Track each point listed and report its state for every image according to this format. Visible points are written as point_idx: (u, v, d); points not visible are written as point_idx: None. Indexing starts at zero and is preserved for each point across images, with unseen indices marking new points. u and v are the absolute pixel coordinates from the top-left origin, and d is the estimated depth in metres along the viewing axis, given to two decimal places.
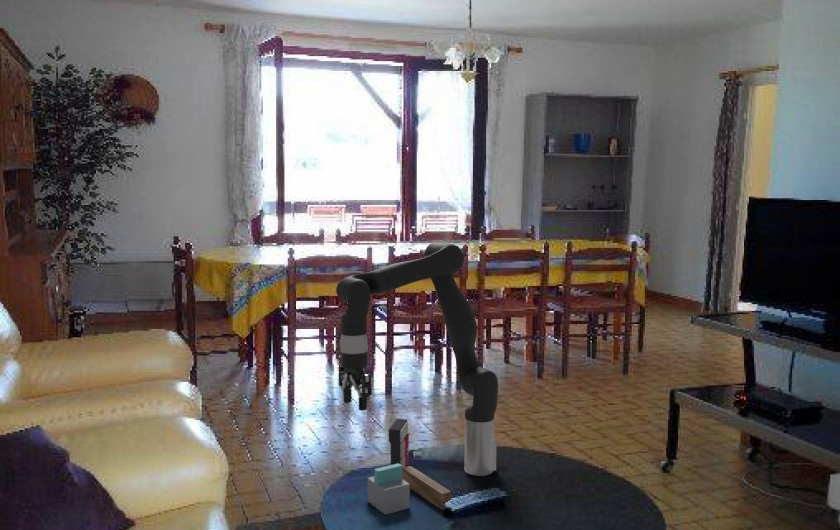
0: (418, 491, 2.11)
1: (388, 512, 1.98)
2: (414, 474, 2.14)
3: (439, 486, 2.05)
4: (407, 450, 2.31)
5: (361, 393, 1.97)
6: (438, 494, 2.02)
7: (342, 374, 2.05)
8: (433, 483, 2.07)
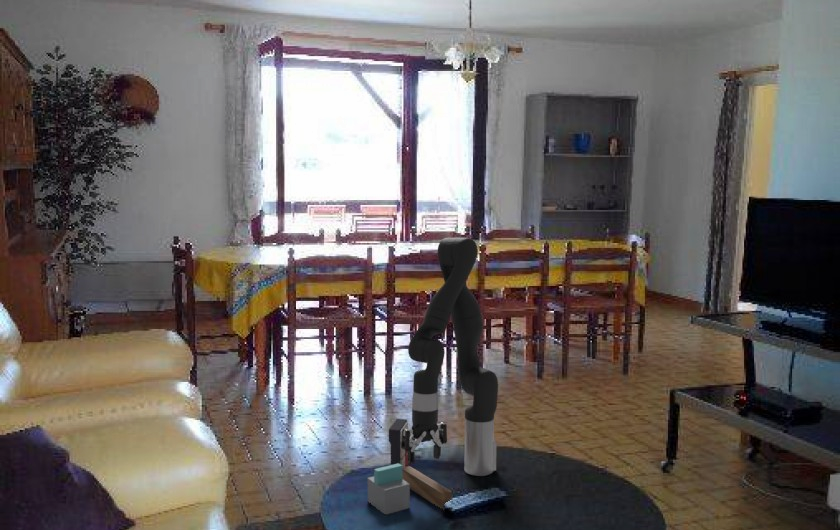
0: (418, 491, 2.11)
1: (388, 512, 1.98)
2: (414, 474, 2.14)
3: (439, 486, 2.05)
4: None
5: (440, 442, 2.11)
6: (438, 494, 2.02)
7: None
8: (433, 483, 2.07)
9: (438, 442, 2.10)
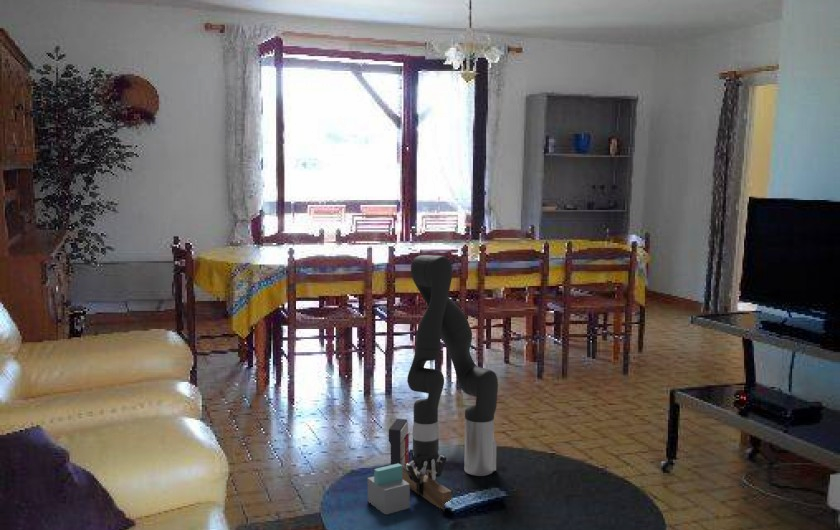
0: None
1: (388, 512, 1.98)
2: None
3: (439, 485, 2.05)
4: (407, 450, 2.31)
5: None
6: (438, 493, 2.02)
7: None
8: (433, 482, 2.07)
9: (432, 476, 2.10)
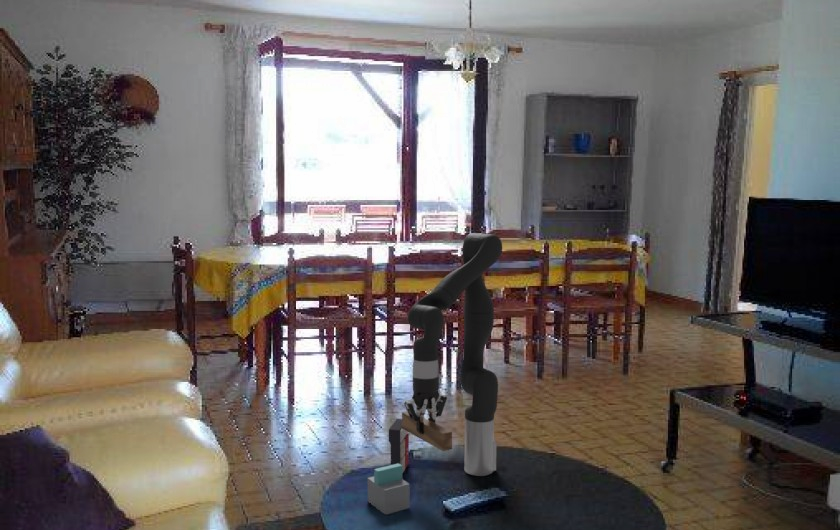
0: (418, 434, 2.09)
1: (388, 512, 1.98)
2: None
3: (440, 427, 2.03)
4: (407, 450, 2.31)
5: (435, 415, 2.09)
6: (438, 434, 2.00)
7: None
8: (433, 425, 2.05)
9: (432, 415, 2.08)
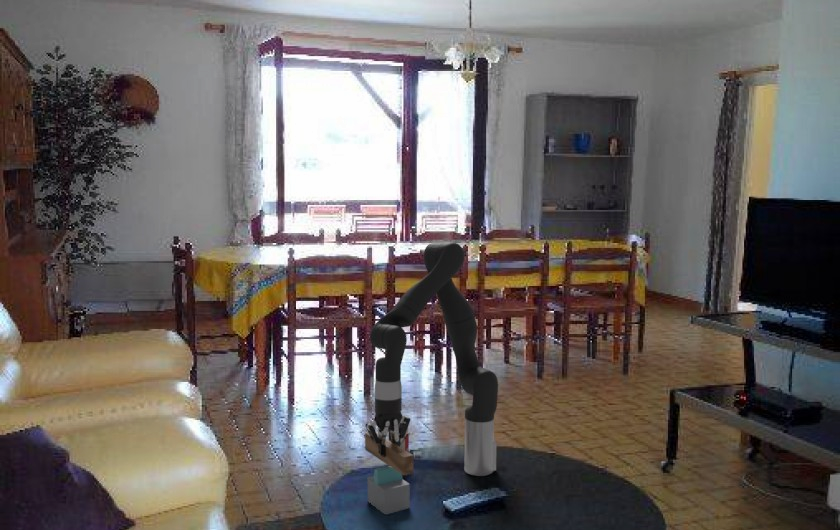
0: (381, 456, 2.03)
1: (388, 512, 1.98)
2: None
3: (401, 450, 1.97)
4: (407, 450, 2.31)
5: None
6: (399, 458, 1.94)
7: None
8: (396, 447, 1.99)
9: (395, 437, 2.02)
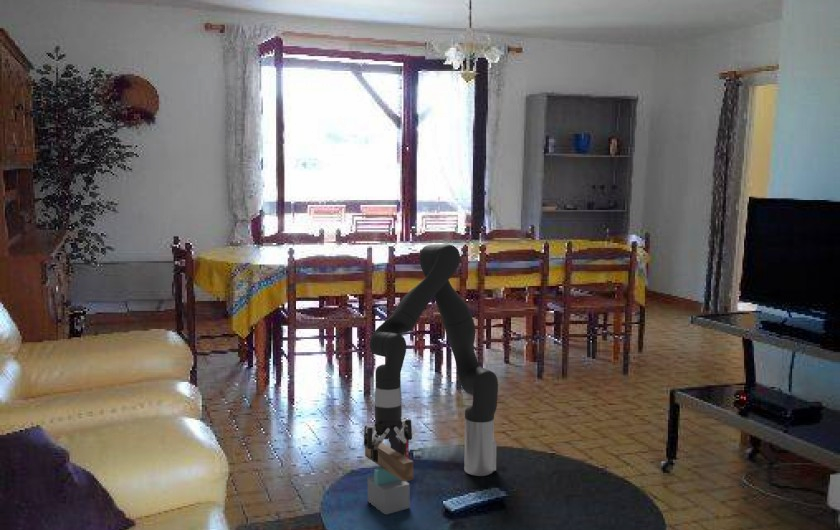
0: (381, 463, 2.03)
1: (388, 512, 1.98)
2: None
3: (401, 456, 1.97)
4: (407, 450, 2.31)
5: (405, 438, 2.04)
6: (399, 464, 1.94)
7: None
8: (395, 454, 1.99)
9: (403, 439, 2.03)
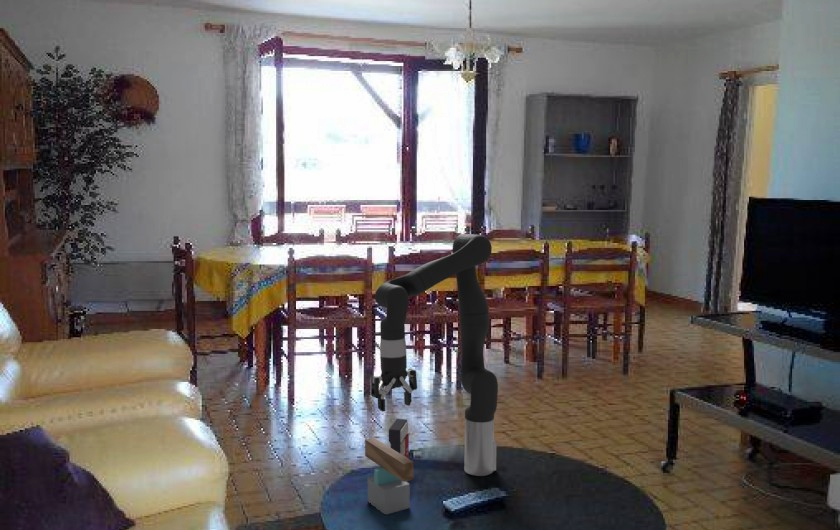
0: (381, 463, 2.03)
1: (388, 512, 1.98)
2: (377, 445, 2.06)
3: (401, 456, 1.97)
4: (407, 450, 2.31)
5: (410, 388, 2.10)
6: (399, 464, 1.94)
7: None
8: (395, 454, 1.99)
9: (408, 388, 2.10)
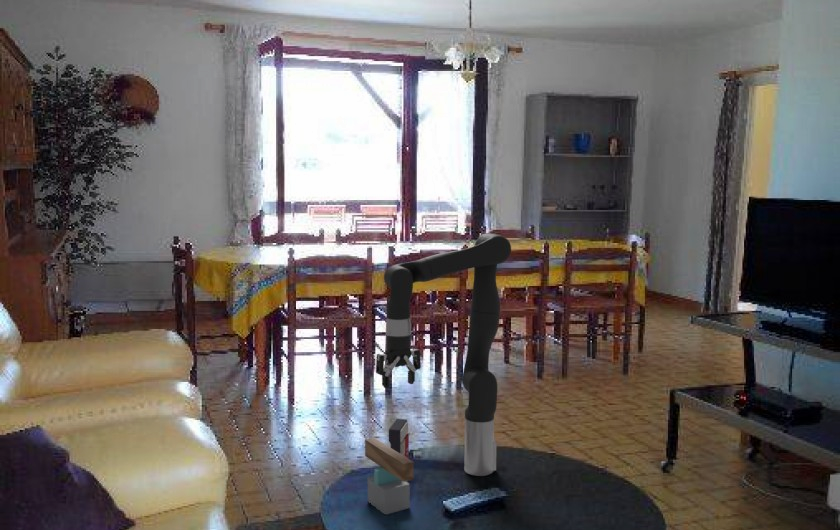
0: (381, 463, 2.03)
1: (388, 512, 1.98)
2: (377, 445, 2.06)
3: (401, 456, 1.97)
4: (407, 450, 2.31)
5: (414, 367, 2.18)
6: (399, 464, 1.94)
7: None
8: (395, 454, 1.99)
9: (412, 367, 2.17)
